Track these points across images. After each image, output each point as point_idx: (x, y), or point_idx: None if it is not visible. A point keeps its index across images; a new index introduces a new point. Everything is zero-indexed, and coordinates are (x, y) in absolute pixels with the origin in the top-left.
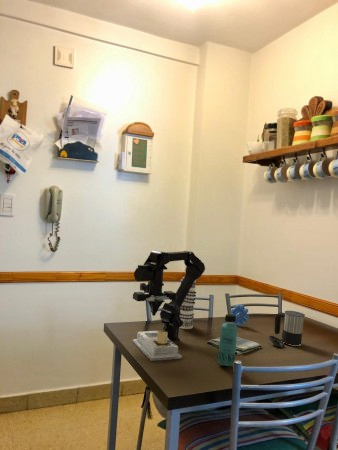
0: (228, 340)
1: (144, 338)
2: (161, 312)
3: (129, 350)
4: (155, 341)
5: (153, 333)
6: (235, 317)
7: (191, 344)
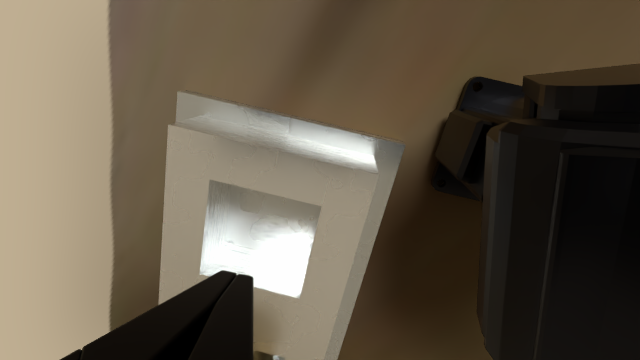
0: None
1: (160, 276)
2: (537, 167)
3: (112, 217)
4: None
5: (299, 197)
6: None
7: None
